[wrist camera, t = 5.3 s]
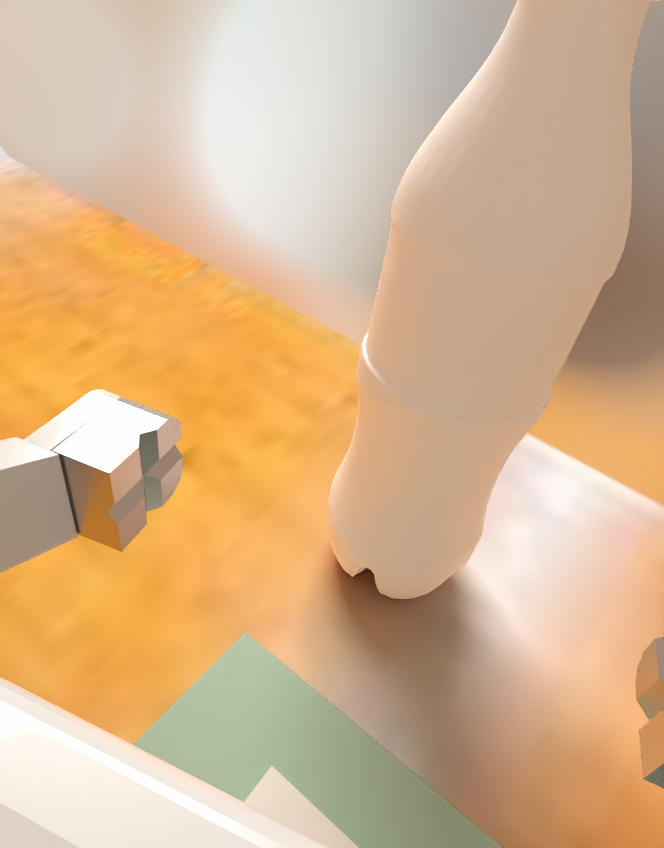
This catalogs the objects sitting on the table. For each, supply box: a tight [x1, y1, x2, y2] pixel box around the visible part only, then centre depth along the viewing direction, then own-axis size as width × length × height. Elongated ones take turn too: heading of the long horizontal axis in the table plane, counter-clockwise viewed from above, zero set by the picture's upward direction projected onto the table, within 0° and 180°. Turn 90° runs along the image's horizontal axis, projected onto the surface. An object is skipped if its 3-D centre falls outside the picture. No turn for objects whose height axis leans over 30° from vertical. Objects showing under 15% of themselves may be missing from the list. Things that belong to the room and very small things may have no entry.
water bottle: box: [327, 0, 661, 599], centre depth 20 cm, size 7×7×25 cm
